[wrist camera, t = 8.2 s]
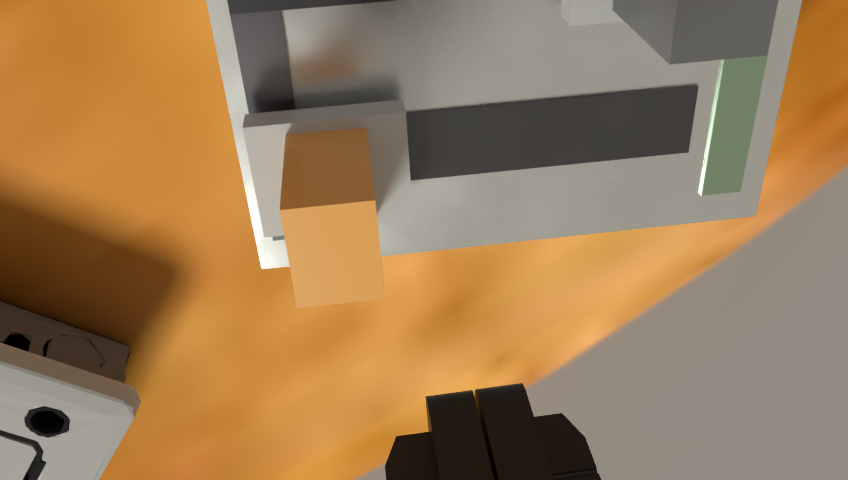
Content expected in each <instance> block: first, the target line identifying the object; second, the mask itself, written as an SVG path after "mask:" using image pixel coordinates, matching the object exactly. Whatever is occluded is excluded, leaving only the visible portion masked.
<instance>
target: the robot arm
mask: <svg viewBox="0 0 848 480" xmlns="http://www.w3.org/2000/svg"><path fill="white" fill-rule="evenodd" d="M426 407H427V417H428V428H429V432H425V433H418V434H410V435H403V436H396V439H395V441H394V444H393V447H392V449H391V452H390V455H389V457H388V460H387V462H386V465H385V470H386V480H601V478H600V476H599V474H598V473H597V469H596V465H595V462H594V460H593V457H592V454H591V452H590V449H589V446H588V444H587V441H586V438H585V437H584V436H583V435H582V434H581V433H580V432H579V431H578V430H577V428H575V426H574V425H572V423H571V422H570V421H569V420H568V419H567V418H566V417H565V416H564V415H563V414H562V413H560V414H553V415H546V416H538V417H534V416H533V412H532V409H531V406H530V403H529V400H528V396H527V393H526V390H525V388H524V386H523V384H522V383H520V384H513V385H505V386H498V387H491V388H483V389H476V390H475V397H474V394H473V391H472V390H470V391H463V392H456V393H448V394H441V395H434V396H426Z"/></svg>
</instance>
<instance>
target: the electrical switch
mask: <svg viewBox="0 0 848 480" xmlns="http://www.w3.org/2000/svg"><path fill="white" fill-rule="evenodd" d="M18 333H20V334H22V335H23V336H24V337H26V338H27V339H28V340H30V341H31V343H30V347H29V351H28V352H27V351H24V350H21V349H18V348H15V347H12V346H9V345H6V344H3V342H4V341H5V339H6V338H7V337H8V336H9V335H12V334H18ZM62 334H63V335H67V336H60V335H62ZM50 339H52V340H51V341H50V342H49V344H48V349H47V353H46V357H43V347H44V345H45V343H46V341H48V340H50ZM88 341H90V342H92V343H93V344H94V346H93V345H92V344H91V343H90V342H88ZM129 351H131V350H130V347H129V346H126V345H123V344H120V343H118V342H115V341H112V340H109V339H106V338H103V337H100V336H98V335H95V334H92V333H89V332H86V331H83V330H81V329H78V328H75V327H72V326H69V325H66V324H64V323H61V322H58V321H55V320H52V319H49V318H46V317H44V316H41V315H38V314H35V313H32V312H29V311H27V310H24V309H21V308H18V307H15V306H12V305H9V304H7V303H4V302H1V301H0V480H99V478H100V477H101V475H102V473H103V471H104V470H105V468H106V466H107V464H108V463H109V461H110V459H111V458H112V456H113V454H114V452H115V451H116V449H117V447H118V445H119V444H120V442H121V440H122V438H123V437H124V435H125V433H126V431H127V430H128V428H129V426H130V425H131V423H132V421H133V419H134V417H135V415H136V412H137V409H138V407H139V404H140V399H139V396H138V394H137V391H136V389H135V387H134V386H131V385H127V384H124V383H123V382H124V381H125V380H126V377H125V366H126V363H127V360H128V357H129V354H130V352H129ZM101 364H102V367H100V365H101Z"/></svg>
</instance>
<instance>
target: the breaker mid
mask: <svg viewBox="0 0 848 480" xmlns="http://www.w3.org/2000/svg"><path fill="white" fill-rule="evenodd" d="M777 3H778V0H562V14H561V16H562V17H563V18H564V19H565V21H566V22H567V23H568V24H569V25H570V26H578V25H589V24H600V23H611V22H622V21H624V22H626V23H627V24H628V25H629V26H630V27H631V28H632V29H633V30H634V31H635V32H636V33H637V34H638V35H639V36H640V37H641V38H642V39H643V40H644V41H645V42H646V43H647V44H649V45H650V46H651V47H652V48H653V49H654V50H655V51H656V52H657V53H658V54H659V55H660V56H661V57H662V58H663V59H664V60H665V61H666V62H667V63H668V64H669V65H671V64H682V63H692V62H703V61H714V60H724V59H735V58H746V57H757V56H767V54H768V48H769V43H770V38H771V33H772V28H773V23H774V18H775V13H776V8H777Z"/></svg>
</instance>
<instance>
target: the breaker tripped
mask: <svg viewBox="0 0 848 480" xmlns="http://www.w3.org/2000/svg"><path fill="white" fill-rule="evenodd" d="M242 129H243V134H244V139H245V144H246V149H247V154H248V159H249V164H250V169H251V174H252V179H253V184H254V189H255V194H256V199H257V204H258V209H259V214H260V219H261V224H262V229H263V234H264V237H274V236H284V238H285V243H286V249H287V254H288V260H289V265H290V271H291V276H292V282H293V287H294V293H295V298H296V304H297V308H303V307H312V306H321V305H330V304H339V303H348V302H357V301H366V300H375V299H384V298H385V291H384V281H383V271H382V261H381V251H380V241H379V231H378V226H379V225H389V224H398V223H408V222H413V207H412V193H411V179H410V164H409V150H408V136H407V122H406V111H405V106H404V102H403V99H402V100H392V101H381V102H371V103H360V104H349V105H339V106H328V107H317V108H307V109H296V110H286V111H275V112H264V113H254V114H245V117H244V122H243V127H242Z"/></svg>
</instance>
